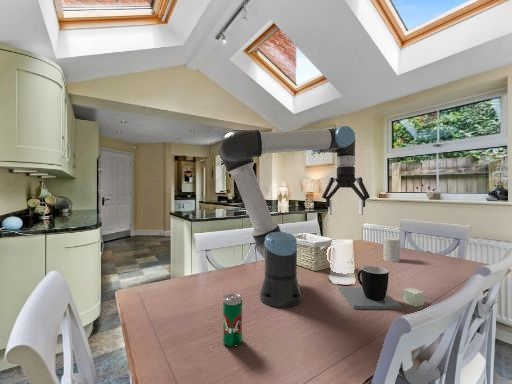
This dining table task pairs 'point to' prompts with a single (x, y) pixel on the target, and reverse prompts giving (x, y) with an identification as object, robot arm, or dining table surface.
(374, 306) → the slate trivet
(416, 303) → the sage block
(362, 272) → the mug
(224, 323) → the soda can
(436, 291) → the dining table surface
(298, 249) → the storage basket
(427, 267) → the dining table surface
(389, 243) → the cup
